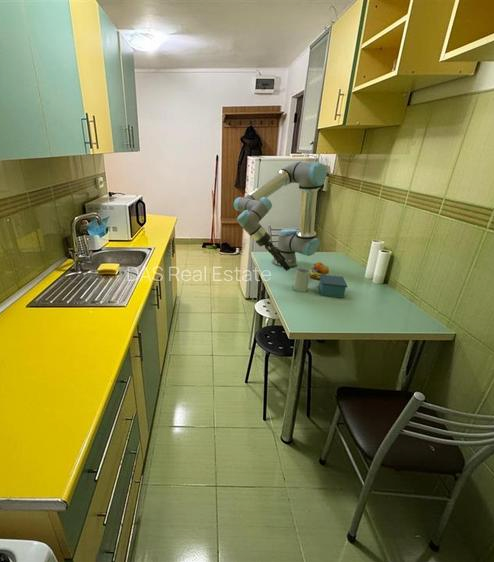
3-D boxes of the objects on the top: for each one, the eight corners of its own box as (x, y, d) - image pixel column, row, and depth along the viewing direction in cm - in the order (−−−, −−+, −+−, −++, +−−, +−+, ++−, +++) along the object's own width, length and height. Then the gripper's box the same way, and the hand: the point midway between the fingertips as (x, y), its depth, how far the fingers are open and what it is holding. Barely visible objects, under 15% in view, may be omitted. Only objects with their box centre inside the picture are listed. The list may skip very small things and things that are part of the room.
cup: (293, 285, 171) (296, 267, 167) (306, 287, 170) (310, 268, 165) (293, 290, 165) (296, 272, 160) (307, 292, 163) (311, 273, 159)
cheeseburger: (306, 272, 190) (313, 258, 185) (323, 278, 188) (330, 264, 183) (306, 277, 181) (313, 263, 176) (323, 284, 179) (331, 269, 174)
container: (318, 285, 172) (320, 274, 169) (340, 288, 169) (342, 276, 166) (320, 295, 160) (323, 283, 157) (344, 298, 158) (347, 286, 155)
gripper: (252, 234, 169) (276, 261, 175) (257, 248, 147) (284, 278, 152) (263, 225, 167) (287, 253, 172) (269, 238, 144) (296, 268, 149)
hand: (286, 264), depth 162 cm, fingers open, 13 cm apart
